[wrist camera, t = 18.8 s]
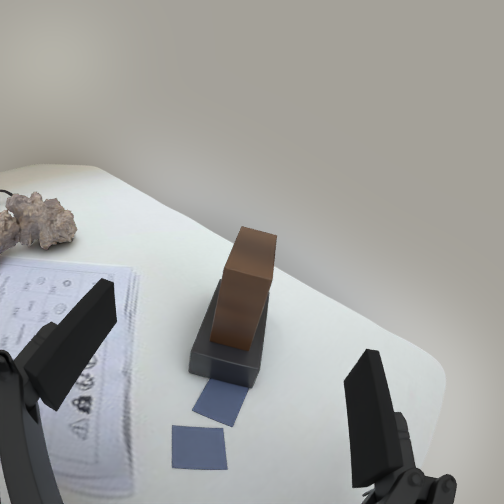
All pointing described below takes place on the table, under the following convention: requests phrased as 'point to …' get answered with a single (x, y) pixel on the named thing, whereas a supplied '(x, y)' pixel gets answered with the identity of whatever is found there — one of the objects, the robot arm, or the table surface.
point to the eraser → (237, 313)
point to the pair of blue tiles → (208, 439)
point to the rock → (35, 222)
